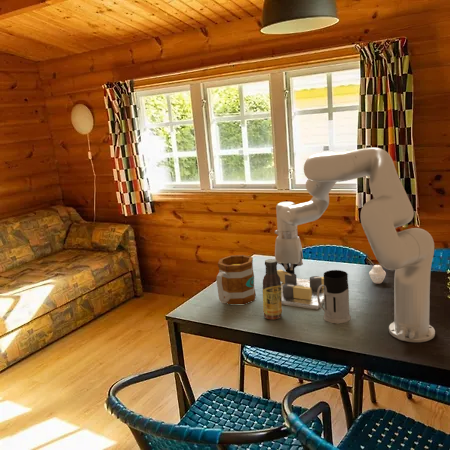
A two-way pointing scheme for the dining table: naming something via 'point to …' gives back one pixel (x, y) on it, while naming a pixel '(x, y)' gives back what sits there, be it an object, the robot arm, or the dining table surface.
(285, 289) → the knob front
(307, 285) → the base plate
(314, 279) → the knob right
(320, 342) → the dining table surface
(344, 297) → the glass holder
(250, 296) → the mug
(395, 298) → the robot arm
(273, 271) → the sauce bottle
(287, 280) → the knob left
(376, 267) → the white carved ornament
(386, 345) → the dining table surface
